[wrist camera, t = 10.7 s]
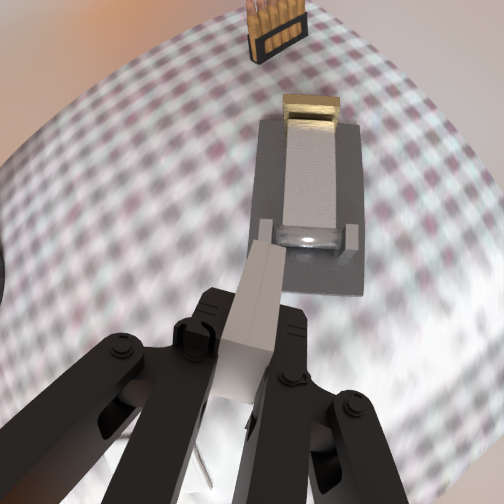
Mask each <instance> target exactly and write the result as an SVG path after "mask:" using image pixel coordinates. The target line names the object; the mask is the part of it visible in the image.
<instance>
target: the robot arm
mask: <svg viewBox="0 0 504 504" xmlns="http://www.w3.org/2000/svg"><path fill="white" fill-rule="evenodd" d="M285 254H286V248H285V247H281V246H277V245H273V244H270V243H266V242H262V241H258V240H253V243H252V246H251V249H250V252H249V255H248V258H247V261H246V264H245V267H244V270H243V273H242V276H241V279H240V283H239V286H238V289H237V292H236V294H235V293H231V292H228V291H224V290H220V289H217V288H213V287H211V288H210V289H208V290H207V291H205V292H204V293H203V294H202V296H201V298H200V300H199V303H198V304H197V306H196V308H195V311H194V313H193V315H192V317H189V318H184V319H182V320H180V321H178V322H177V323H176V324H175V326H174V331H173V344H172V345H171V346H168V347H160V348H156V347H144V346H143V344H142V342H141V341H140V340H139V339H138V338H137V337H136V336H133V335H131V334H128V333H115V334H111V335H109V336H108V337H106V338H104V339H103V340H102V341H101V342H100V343H98V344H97V345H96V346H95V347H94V348H92V349H91V350H90V351H89V352H88V353H87V354H85V355H84V356H83V357H82V358H81V359H79V360H78V361H77V362H76V363H75V364H74V365H72V366H71V367H70V368H69V369H68V370H67V371H65V372H64V373H63V374H62V375H61V376H60V377H59V378H57V379H56V380H55V381H54V382H53V383H52V384H50V385H49V386H48V387H47V388H46V389H45V390H44V391H42V392H41V393H40V394H39V395H38V396H37V397H36V398H34V399H33V400H32V401H31V402H30V403H29V404H28V405H27V406H25V407H24V408H23V409H22V410H21V411H20V412H19V413H18V414H16V415H15V416H14V417H13V418H12V419H11V420H10V421H9V422H7V423H6V424H5V425H4V426H3V427H2V428H1V429H0V504H59V503H60V502H61V501H62V500H63V499H64V498H65V497H66V496H67V495H68V493H69V492H70V491H71V490H72V489H73V488H74V487H75V486H76V485H77V483H78V482H79V481H80V480H81V479H82V478H83V477H84V476H85V474H86V473H87V472H88V471H89V470H90V469H91V468H92V467H93V465H94V464H95V463H96V462H97V461H98V460H99V459H100V458H101V456H102V455H103V454H104V453H105V452H106V451H107V450H108V448H109V447H110V446H111V445H112V444H113V443H114V442H115V440H116V439H117V438H118V437H119V436H120V435H121V434H122V432H123V431H124V430H125V429H126V428H127V427H128V426H129V424H130V423H131V422H132V421H133V420H134V419H135V418H136V416H137V415H138V414H139V413H140V412H141V411H142V412H141V414H140V416H139V418H138V421H137V423H136V425H135V427H134V429H133V432H132V434H131V436H130V438H129V440H128V443H127V445H126V447H125V449H124V452H123V454H122V456H121V458H120V461H119V463H118V465H117V467H116V470H115V472H114V474H113V477H112V479H111V481H110V483H109V486H108V488H107V490H106V493H105V495H104V497H103V500H102V502H101V504H176V503H177V500H178V497H179V493H180V490H181V487H182V484H183V480H184V477H185V474H186V471H187V467H188V464H189V461H190V458H191V454H192V451H193V448H194V445H195V441H196V438H197V435H198V432H199V428H200V425H201V422H202V418H203V415H204V412H205V409H206V405H207V400H208V396H209V394H213V395H217V396H220V397H224V398H228V399H232V400H236V401H240V402H244V403H248V404H252V405H253V402H254V406H253V411H252V413H251V415H250V417H249V420H248V422H247V424H246V427H245V429H247V432H246V437H245V442H244V447H243V452H242V457H241V462H240V467H239V472H238V476H237V481H236V486H235V491H234V495H233V500H232V504H306V499H307V486H308V475H309V479H310V484H311V489H312V494H313V499H314V503H315V504H409V503H408V500H407V497H406V494H405V491H404V488H403V485H402V482H401V479H400V476H399V474H398V471H397V468H396V465H395V462H394V460H393V457H392V454H391V451H390V449H389V446H388V443H387V441H386V438H385V435H384V433H383V430H382V427H381V425H380V422H379V420H378V417H377V414H376V412H375V409H374V407H373V405H372V403H371V401H370V400H369V399H368V398H367V397H366V396H365V395H364V394H362V393H360V392H358V391H354V390H345V391H341V392H340V393H339V394H337V395H335V394H333V393H330V392H328V391H326V390H324V389H322V388H320V387H319V386H317V385H316V384H315V383H314V382H313V381H312V380H311V375H310V374H309V373H308V371H307V318H306V316H305V314H304V312H303V310H301V309H297V308H293V307H289V306H285V305H281V304H280V299H281V290H282V281H283V273H284V264H285ZM3 286H4V266H3V260H2V256H1V252H0V303H1V299H2V294H3ZM254 400H255V401H254ZM142 409H143V410H142Z"/></svg>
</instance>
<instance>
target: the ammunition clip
mask: <svg viewBox="0 0 504 504" xmlns="http://www.w3.org/2000/svg"><path fill="white" fill-rule="evenodd" d="M246 10H247V25H248V31H249V34H248V35H247V37H248V44H249V52H250V59H251V60H252V61H253V62H255V63H257V64H258V65H260V64H262V63H263V62H265V61H266V60H268V59H270V58H271V57H273V56H274V55H276V54H278V53H279V52H281V51H282V50H284V49H286V48H287V47H289V46H291V45H293V44H294V43H296V42H298V41H299V40H301V39H303V38H305V37H306V36H308V25H307V12H305V0H267V8H266V2H265V0H257V12H256V8H255V4H254V2H253V0H247V3H246Z"/></svg>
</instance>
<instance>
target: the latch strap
mask: <svg viewBox="0 0 504 504" xmlns="http://www.w3.org/2000/svg"><path fill="white" fill-rule="evenodd" d="M341 238H342V233H341V228H336V162H335V133H334V122H330V121H315V120H296V119H288V133H287V154H286V173H285V191H284V208H283V224H282V225H279V224H277V229H276V245H277V246H291V247H307V248H324V249H340V247H341Z"/></svg>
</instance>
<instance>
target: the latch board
mask: <svg viewBox="0 0 504 504" xmlns="http://www.w3.org/2000/svg"><path fill="white" fill-rule="evenodd" d="M339 111H340V97H330V96H315V95H295V94H283V112H284V120H260V126H259V136H258V146H257V157H256V167H255V178H254V188H253V199H252V209H251V220H250V231H249V242H248V252H247V258H248V255H249V252H250V249H251V246H252V243H253V240H258V241H262V242H266V243H270V244H273V245H276V229H277V224H279V225H282V224H283V208H284V191H285V173H286V154H287V133H288V119H296V120H315V121H330V122H334V133H335V162H336V228H341V233H342V238H341V247H340V249H324V248H307V247H291V246H281V247H285V248H286V254H285V264H284V273H283V281H282V290H281V292H282V293H298V294H314V295H332V296H351V297H361V296H363V292H364V257H365V221H364V186H363V167H362V152H361V139H360V128H359V125H350V124H339V123H337V122H338V117H339Z"/></svg>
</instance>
